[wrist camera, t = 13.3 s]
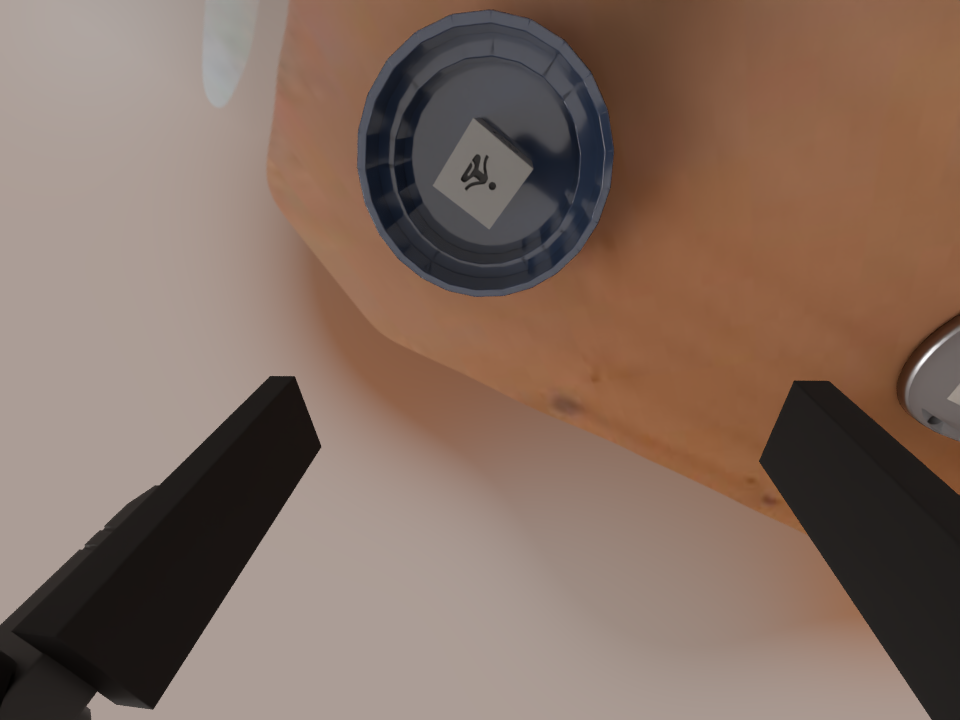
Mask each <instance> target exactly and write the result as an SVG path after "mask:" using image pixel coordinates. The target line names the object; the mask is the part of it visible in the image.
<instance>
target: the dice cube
mask: <svg viewBox="0 0 960 720" xmlns="http://www.w3.org/2000/svg"><path fill="white" fill-rule="evenodd" d="M532 170H533V163H532V161H531V160H530V159H529V158H527V157H526V156H525V155H524V154H523V153H522V152H520V151H519V150H518V149H517V148H516V147H515V146H513V145H512V144H511V143H510V142H509V141H508V140H506V139H505V138H504V137H503V136H502V135H501V134H499V133H498V132H497V131H496V130H495V129H494V128H492V127H491V126H490V125H489V124H488V123H487V122H485V121H484V120H483V119H482V118H473V119H472V121H471V123H470V124H469V126H468V128H467V129H466V131H465V133H464V134H463V136H462V138H461V139H460V141H459V143H458V144H457V146H456V148H455V149H454V151H453V153H452V154H451V156H450V158H449V159H448V161H447V163H446V164H445V166H444V168H443V169H442V171H441V173H440V174H439V176H438V178H437V179H436V181H435V183H434V184H433V186H434V187H435V188H436V189H438V190H439V191H440V192H441V193H443V194H444V195H445V196H447V197H448V198H449V199H450V200H452V201H453V202H454V203H456V204H457V205H458V206H460V207H461V208H462V209H463V210H465V211H466V212H467V213H469V214H470V215H471V216H472V217H474V218H475V219H476V220H478V221H479V222H480V223H481V224H483V225H484V226H485V227H487V228H488V229H490V228H491V227H492V225H493V224H494V223H495V221H496V220H497V218H498V217H499V216H500V214H501V213H502V212H503V210H504V209H505V207H506V206H507V205H508V203H509V202H510V201H511V199H512V198H513V196H514V195H515V194H516V192H517V191H518V190H519V188H520V187H521V185H522V184H523V183H524V181H525V180H526V179H527V177H528V176H529V174H530V173H531V172H532Z"/></svg>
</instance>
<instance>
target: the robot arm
mask: <svg viewBox="0 0 960 720" xmlns="http://www.w3.org/2000/svg"><path fill="white" fill-rule="evenodd" d="M897 396H898V400H899V402H900V404H901V406H902V407H903V409H904V410H905V411H906V412H907V413H908V414H910V415H911V416H912V417H913V418H915V419H916V420H917V421H919V422H920V423H921V424H923V425H924V426H926V427H928V428H930V429H931V430H933V431H935V432H937V433H939V434H942V435H944V436H947V437H949V438H952V439H954V440H957V441H959V442H960V315H958V316H957V317H955V318H953V319H952V320H950V321H949V322H947V323H946V324H944V325H943V326H942V327H940V328H939V329H938V330H936V331H935V332H934V333H933V334H931V335H930V336H929V337H928V338H927V339H926V340H925V341H924V342H923V343H922V344H921V345H920V346H919V347H918V348H917V349H916V350H915V351H914V352H913V354H912V355H911V356H910V357H909V359H908V360H907V362H906V363H905V365H904V367H903V369H902V371H901V373H900V376H899V379H898V383H897ZM320 448H321V444H320V441H319V439H318V436H317V434H316V431H315V429H314V426H313V423H312V421H311V418H310V415H309V413H308V410H307V407H306V405H305V402H304V400H303V397H302V394H301V392H300V389H299V386H298V384H297V381H296V378H295V377H294V376H270V377H269V378H268V379H267V380H266V381H265V382H264V383H263V384H262V385H261V386H260V387H259V388H258V389H257V390H256V391H255V392H254V393H253V394H252V395H251V396H250V397H249V398H248V399H247V400H246V401H245V402H244V403H243V404H242V405H240V406H239V407H238V408H237V410H235V411H234V412H233V414H231V415H230V416H229V417H228V419H226V420H225V421H224V422H223V423H222V424H221V425H220V426H219V427H218V428H217V429H216V430H215V431H214V432H213V433H212V434H211V435H210V436H209V437H208V438H207V439H206V440H205V441H204V442H203V443H202V444H201V445H200V446H199V447H198V448H197V449H196V450H195V451H194V452H193V453H192V454H191V455H190V456H189V457H188V458H187V459H186V460H185V461H184V462H183V463H182V464H181V465H180V466H179V467H178V468H177V469H176V470H175V471H173V472H172V473H171V475H170V476H168V477H167V478H166V479H165V480H164V481H163V482H162V483H161V484H160V485H159V486H154V487H152V488H151V489H149V490H148V491H146V492H145V493H143V494H142V495H140V496H139V497H137V498H136V499H134V500H133V501H131V502H130V503H128V504H127V505H126V506H125V507H124V508H123V509H122V510H121V511H120V512H118V514H116V515H115V516H114V517H113V518H112V519H111V520H110V521H109V522H108V523H107V524H106V525H105V528H104V530H102V531H101V530H100V531H99V532H98V533H96V534H95V535H94V536H93V537H92V538H91V539H90V540H89V541H88V542H87V543H86V544H85V548H84V549H83V550H79V551H78V552H77V553H75V555H73V556H72V557H71V558H70V559H69V560H68V561H67V562H66V563H65V564H64V565H63V566H62V567H61V568H60V569H59V570H58V571H57V572H56V573H54V574H53V575H52V576H51V578H49V579H48V580H47V581H46V582H45V583H44V584H43V585H42V586H41V587H40V588H39V589H38V590H37V591H36V592H35V593H34V594H32V596H31V597H29V598H28V599H27V600H26V601H25V602H24V603H23V604H22V605H21V606H20V607H19V608H18V609H17V610H16V611H15V612H14V613H13V614H12V615H10V616H9V617H8V618H7V619H6V620H5V621H4V622H3V623H2V624H1V625H0V720H91V712H90V709H89V708H88V707H86V706H87V704H88V703H89V702H90V700H91V699H92V698H93V696H94V695H95V693H96V692H97V691H98V692H99V693H100V694H102V695H103V696H105V697H106V698H108V699H109V700H110V701H112V702H113V703H115V704H116V705H123V706H131V707H138V708H146V709H154V707H155V706H156V704H157V703H158V701H159V700H160V698H161V697H162V695H163V693H164V692H165V690H166V689H167V687H168V686H169V684H170V682H171V681H172V679H173V678H174V676H175V674H176V673H177V671H178V670H179V668H180V667H181V665H182V664H183V662H184V661H185V659H186V657H187V656H188V654H189V653H190V651H191V650H192V648H193V647H194V645H195V643H196V642H197V640H198V639H199V637H200V635H201V634H202V633H203V631H204V629H205V628H206V626H207V625H208V623H209V622H210V620H211V618H212V617H213V615H214V614H215V612H216V611H217V609H218V608H219V606H220V604H221V603H222V601H223V600H224V598H225V596H226V595H227V593H228V592H229V590H230V589H231V587H232V586H233V584H234V583H235V581H236V579H237V578H238V576H239V575H240V573H241V572H242V570H243V568H244V567H245V565H246V564H247V562H248V561H249V559H250V558H251V556H252V554H253V553H254V551H255V550H256V548H257V546H258V545H259V543H260V542H261V540H262V539H263V537H264V536H265V534H266V532H267V531H268V529H269V528H270V526H271V525H272V523H273V522H274V520H275V518H276V517H277V515H278V514H279V512H280V511H281V509H282V507H283V506H284V504H285V503H286V501H287V500H288V498H289V497H290V495H291V493H292V492H293V490H294V489H295V487H296V485H297V484H298V482H299V481H300V479H301V478H302V476H303V475H304V473H305V472H306V470H307V468H308V467H309V465H310V464H311V462H312V461H313V459H314V458H315V456H316V454H317V453H318V451H319V450H320ZM759 462H760V463H761V465H762V466H763V468H764V469H765V471H766V472H767V474H768V475H769V477H770V478H771V480H772V481H773V483H774V484H775V486H776V487H777V489H778V490H779V492H780V493H781V495H782V496H783V498H784V499H785V501H786V502H787V504H788V505H789V507H790V508H791V510H792V511H793V513H794V514H795V516H796V517H797V519H798V520H799V522H800V523H801V525H802V526H803V528H804V529H805V531H806V532H807V534H808V535H809V537H810V538H811V540H812V541H813V543H814V544H815V546H816V547H817V549H818V550H819V552H820V553H821V555H822V556H823V558H824V559H825V561H826V562H827V564H828V565H829V567H830V568H831V570H832V571H833V573H834V574H835V576H836V577H837V579H838V580H839V582H840V583H841V585H842V586H843V588H844V589H845V590H846V592H847V594H848V595H849V597H850V598H851V600H852V601H853V603H854V604H855V606H856V607H857V608H858V610H859V611H860V613H861V614H862V616H863V618H864V619H865V621H866V622H867V624H868V625H869V627H870V628H871V629H872V631H873V632H874V634H875V635H876V637H877V639H878V640H879V642H880V643H881V644H882V646H883V648H884V649H885V651H886V652H887V653H888V655H889V656H890V658H891V659H892V661H893V662H894V664H895V665H896V667H897V668H898V670H899V671H900V673H901V674H902V676H903V677H904V679H905V680H906V682H907V683H908V685H909V686H910V688H911V689H912V691H913V692H914V694H915V695H916V697H917V698H918V700H919V701H920V703H921V704H922V706H923V707H924V709H925V710H926V712H927V713H928V715H929V716H930V718H931V719H932V720H960V496H959V495H958V494H957V493H956V492H955V491H954V490H953V489H951V488H950V487H949V486H948V485H947V484H946V483H945V482H943V481H942V480H941V479H940V478H939V477H938V476H937V475H935V474H934V473H933V472H932V471H931V470H930V469H929V468H928V467H926V466H925V465H924V464H923V463H922V462H921V461H920V460H918V459H917V458H916V457H915V456H914V455H913V454H912V453H910V452H909V451H908V450H907V449H906V448H905V447H904V446H902V445H901V444H900V443H899V442H898V441H897V440H896V439H894V438H893V437H892V436H891V435H890V434H889V433H888V432H886V431H885V430H884V429H883V428H882V427H881V426H880V425H878V424H877V423H876V422H875V421H874V420H873V419H872V418H870V417H869V416H868V415H867V414H866V413H865V412H864V411H862V410H861V409H860V408H859V407H858V406H857V405H856V404H855V403H853V402H852V401H851V400H850V399H849V398H848V397H847V396H845V395H844V394H843V393H842V392H841V391H840V390H839V389H837V388H836V387H835V386H834V385H833V384H832V383H831V382H829V381H794V382H793V384H792V387H791V389H790V391H789V394H788V396H787V398H786V400H785V403H784V405H783V407H782V410H781V412H780V414H779V417H778V419H777V421H776V423H775V426H774V428H773V430H772V433H771V435H770V437H769V440H768V442H767V444H766V446H765V449H764V451H763V453H762V456H761V458H760V460H759Z"/></svg>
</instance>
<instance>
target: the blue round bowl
mask: <svg viewBox="0 0 960 720" xmlns="http://www.w3.org/2000/svg"><path fill="white" fill-rule="evenodd" d="M473 118H482V119H483V120H484V121H485V122H487V123H488V124H489V125H490V126H491V127H492V128H494V129H495V130H496V131H497V132H498V133H499V134H501V135H502V136H503V137H504V138H505V139H506V140H508V141H509V142H510V143H511V144H512V145H513V146H515V147H516V148H517V149H518V150H519V151H520V152H522V153H523V154H524V155H525V156H526V157H527V158H529V159H530V160H531V161H532V163H533V170H532V172H531V173H530V174H529V176H528V177H527V179H526V180H525V181H524V183H523V184H522V185H521V187H520V188H519V190H518V191H517V192H516V194H515V195H514V196H513V198H512V199H511V201H510V202H509V203H508V205H507V206H506V207H505V209H504V210H503V212H502V213H501V214H500V216H499V217H498V218H497V220H496V221H495V223H494V224H493V225H492V227H491V228H490V229H488V228H487V227H485V226H484V225H483V224H481V223H480V222H479V221H478V220H476V219H475V218H474V217H472V216H471V215H470V214H469V213H467V212H466V211H465V210H463V209H462V208H461V207H460V206H458V205H457V204H456V203H454V202H453V201H452V200H450V199H449V198H448V197H447V196H445V195H444V194H443V193H441V192H440V191H439V190H438V189H436V188H435V187H434V186H433V184H434V183H435V181H436V179H437V178H438V176H439V174H440V173H441V171H442V169H443V168H444V166H445V164H446V163H447V161H448V159H449V158H450V156H451V154H452V153H453V151H454V149H455V148H456V146H457V144H458V143H459V141H460V139H461V138H462V136H463V134H464V133H465V131H466V129H467V128H468V126H469V124H470V123H471V121H472V119H473ZM613 158H614V146H613V139H612V132H611V126H610V119H609V112H608V109H607V106H606V104H605V102H604V100H603V97H602V95H601V93H600V90H599V88H598V86H597V83H596V81H595V79H594V77H593V74H592V73H591V71H590V70H589V69H588V67H587V66H586V65H585V64H584V63H583V61H582V60H581V59H580V58H579V57H578V55H577V54H576V53H575V52H574V51H573V49H572V48H571V47H570V46H569V45H568V43H567V42H566V41H565V40H564V39H562V38H560V37H559V36H557V35H556V34H554V33H553V32H551V31H549V30H548V29H546V28H545V27H543V26H542V25H540V24H538V23H537V22H535V21H534V20H532V19H529V18H526V17H522V16H517V15H513V14H509V13H505V12H500V11H496V10H481V11H473V12H465V13H456V14H452V15H449V16H447V17H445V18H442V19H440V20H438V21H436V22H434V23H432V24H430V25H428V26H426V27H424V28H422V29H420V30H418V31H417V32H415V33H414V34H413V35H412V36H411V37H410V38H409V39H408V40H407V41H406V42H405V43H404V44H403V45H402V46H400V47H399V48H398V49H397V50H396V51H395V52H394V53H393V54H392V55H391V56H390V57H389V58H388V61H386V62H385V64H384V66H383V68H382V70H381V71H380V73H379V75H378V77H377V78H376V80H375V82H374V84H373V86H372V87H371V89H370V91H369V93H368V95H367V99H366V102H365V106H364V110H363V114H362V118H361V122H360V126H359V129H358V156H357V169H358V174H359V179H360V183H361V188H362V192H363V197H364V202H365V203H366V204H365V205H366V207H367V209H368V211H369V213H370V216H371V218H372V220H373V222H374V224H375V226H376V228H377V231H378V233H379V235H380V236H381V237H382V239H383V240H384V241H385V242H386V244H387V245H388V246H389V248H390V249H391V250H392V251H393V253H394V254H395V255H396V257H397V258H398V259H399V260H400V261H401V262H403V263H404V264H405V265H406V266H408V267H409V268H410V269H411V270H412V271H414V272H415V273H416V274H417V275H419V276H420V277H421V278H423V279H425V280H427V281H429V282H431V283H433V284H435V285H437V286H439V287H441V288H443V289H445V290H448V291H451V292H456V293H460V294H465V295H470V296H474V297H475V296H476V297H483V296H503V295H504V296H505V295H508V294H512V293H516V292H519V291H523V290H526V289H530V288H532V287H534V286H536V285H537V284H539V283H541V282H543V281H544V280H546V279H548V278H550V277H551V276H553V275H555V274H556V273H558V272H559V271H560V270H561V269H562V268H563V267H564V266H565V265H566V264H567V263H568V262H569V261H571V260H572V259H573V258H574V257H575V256H576V255H577V254H578V253H579V252H580V251H581V249H582V248H583V246H584V245H585V243H586V241H587V240H588V238H589V237H590V235H591V234H592V232H593V231H594V229H595V227H596V226H597V224H598V222H599V220H600V217H601V214H602V211H603V208H604V206H605V203H606V200H607V197H608V194H609V191H610V188H611V178H612V168H613Z"/></svg>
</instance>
